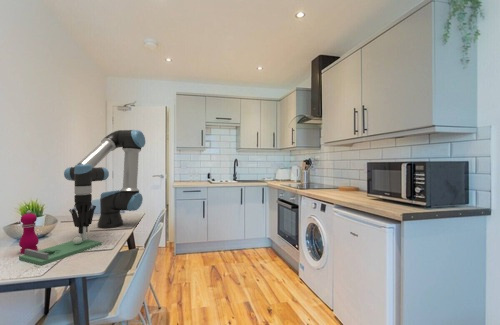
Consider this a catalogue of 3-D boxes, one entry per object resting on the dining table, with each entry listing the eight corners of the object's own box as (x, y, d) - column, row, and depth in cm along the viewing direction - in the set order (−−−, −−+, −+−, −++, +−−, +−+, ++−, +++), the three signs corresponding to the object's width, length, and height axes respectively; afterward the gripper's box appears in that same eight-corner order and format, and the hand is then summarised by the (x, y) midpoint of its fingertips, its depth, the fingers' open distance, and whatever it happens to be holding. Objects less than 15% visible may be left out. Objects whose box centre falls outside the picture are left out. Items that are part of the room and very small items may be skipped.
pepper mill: (16, 252, 124) (15, 210, 123) (34, 247, 130) (34, 208, 130) (23, 255, 120) (22, 212, 120) (41, 250, 127) (41, 209, 126)
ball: (80, 239, 134) (76, 234, 132) (85, 240, 133) (81, 235, 131) (73, 245, 131) (69, 239, 129) (78, 246, 129) (74, 240, 128)
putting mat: (80, 241, 141) (80, 233, 140) (101, 244, 135) (101, 237, 134) (18, 259, 115) (18, 250, 115) (41, 265, 109) (41, 256, 109)
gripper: (90, 192, 141) (90, 235, 141) (65, 195, 129) (65, 242, 129) (99, 192, 138) (99, 236, 138) (75, 196, 126) (75, 244, 126)
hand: (83, 239), depth 134 cm, fingers closed
